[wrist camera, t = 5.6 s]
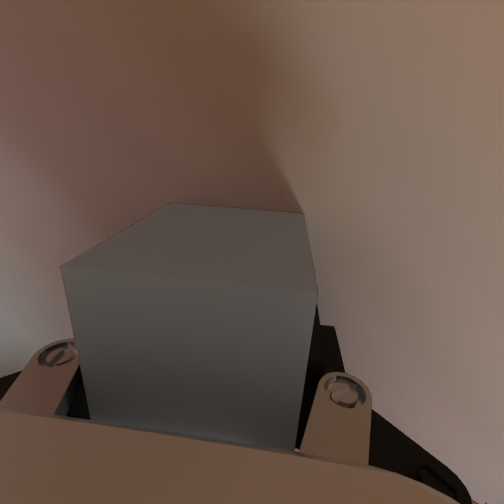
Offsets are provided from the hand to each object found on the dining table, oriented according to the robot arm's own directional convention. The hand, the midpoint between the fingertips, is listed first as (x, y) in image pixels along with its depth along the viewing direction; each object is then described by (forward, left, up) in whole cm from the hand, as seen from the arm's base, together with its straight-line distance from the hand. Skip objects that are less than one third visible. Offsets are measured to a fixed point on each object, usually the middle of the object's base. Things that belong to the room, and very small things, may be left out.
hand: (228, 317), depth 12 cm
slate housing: (0, 0, -1) cm, 1 cm away
